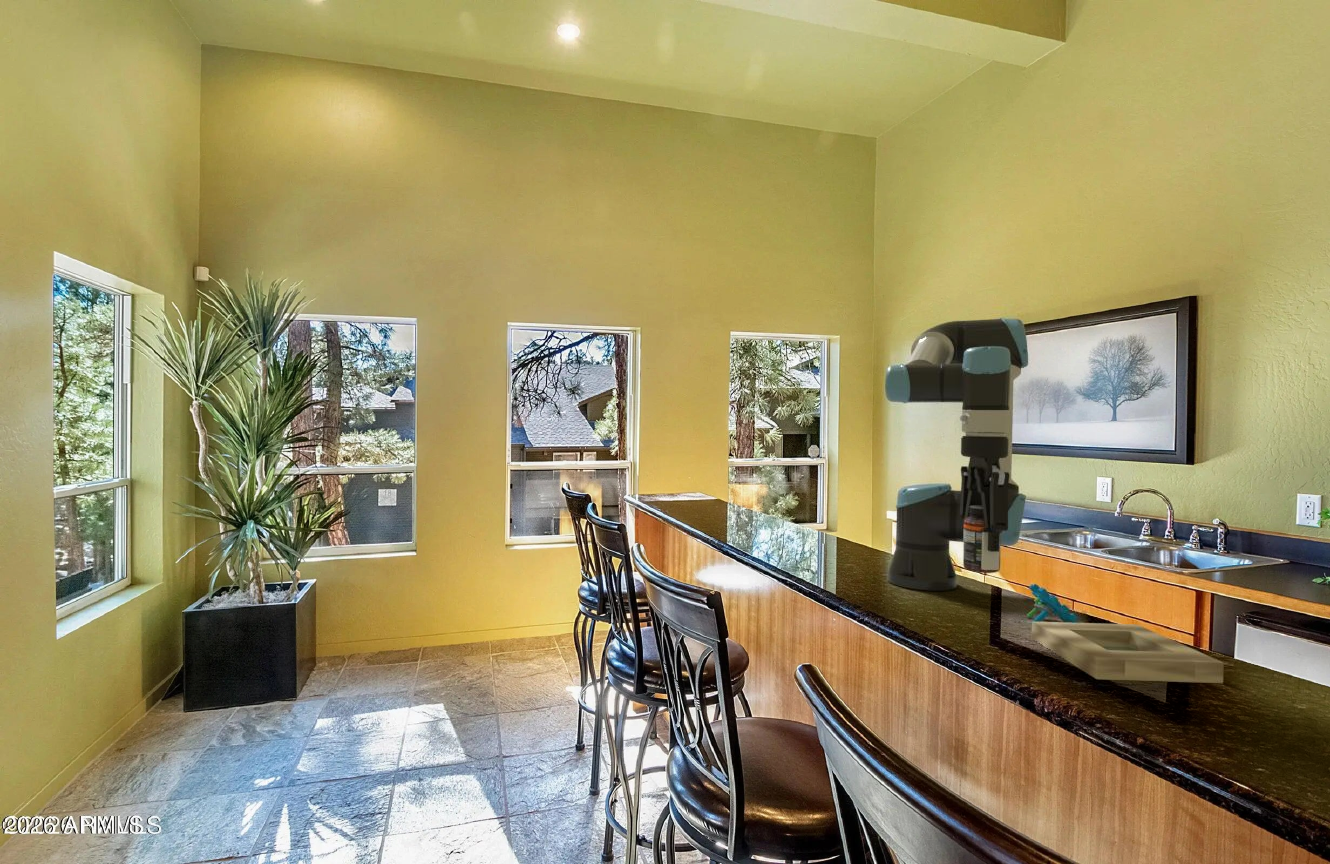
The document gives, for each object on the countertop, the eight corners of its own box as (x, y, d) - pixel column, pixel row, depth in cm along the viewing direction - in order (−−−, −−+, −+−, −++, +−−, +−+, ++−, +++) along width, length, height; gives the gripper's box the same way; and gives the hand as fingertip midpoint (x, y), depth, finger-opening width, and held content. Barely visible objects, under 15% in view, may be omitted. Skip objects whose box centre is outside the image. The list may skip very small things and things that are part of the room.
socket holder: (1031, 638, 113) (1031, 621, 113) (1137, 641, 113) (1137, 624, 113) (1096, 679, 95) (1097, 658, 95) (1223, 683, 95) (1223, 662, 95)
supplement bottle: (990, 566, 119) (991, 504, 118) (1006, 574, 113) (1008, 509, 112) (957, 565, 119) (958, 504, 118) (971, 573, 113) (973, 508, 112)
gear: (1092, 626, 115) (1048, 583, 117) (1068, 649, 116) (1024, 606, 118) (1064, 617, 126) (1024, 578, 128) (1042, 638, 126) (1002, 598, 128)
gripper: (942, 433, 125) (939, 553, 125) (987, 436, 106) (984, 577, 106) (981, 433, 124) (978, 553, 125) (1034, 437, 105) (1031, 578, 106)
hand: (981, 564), depth 116 cm, fingers closed on supplement bottle, 6 cm apart
